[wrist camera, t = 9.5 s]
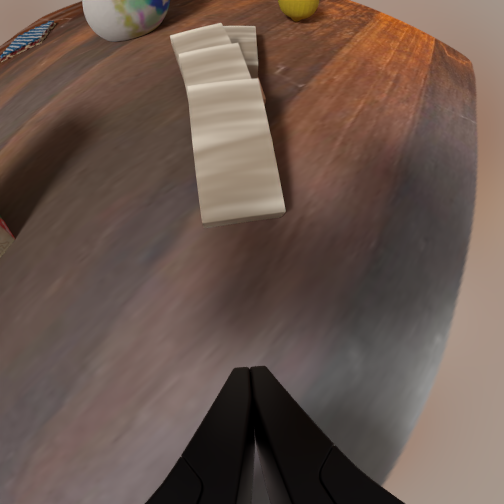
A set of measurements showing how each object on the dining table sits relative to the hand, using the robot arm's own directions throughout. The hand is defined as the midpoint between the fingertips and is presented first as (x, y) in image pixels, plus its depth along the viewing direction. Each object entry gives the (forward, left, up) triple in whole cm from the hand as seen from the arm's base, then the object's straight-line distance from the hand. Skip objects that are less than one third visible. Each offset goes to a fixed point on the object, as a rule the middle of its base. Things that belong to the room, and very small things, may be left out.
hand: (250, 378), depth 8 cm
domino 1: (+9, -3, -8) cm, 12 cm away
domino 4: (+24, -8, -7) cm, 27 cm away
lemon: (+38, -23, -9) cm, 45 cm away
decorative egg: (+46, -1, -9) cm, 47 cm away
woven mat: (+65, +20, -9) cm, 69 cm away
